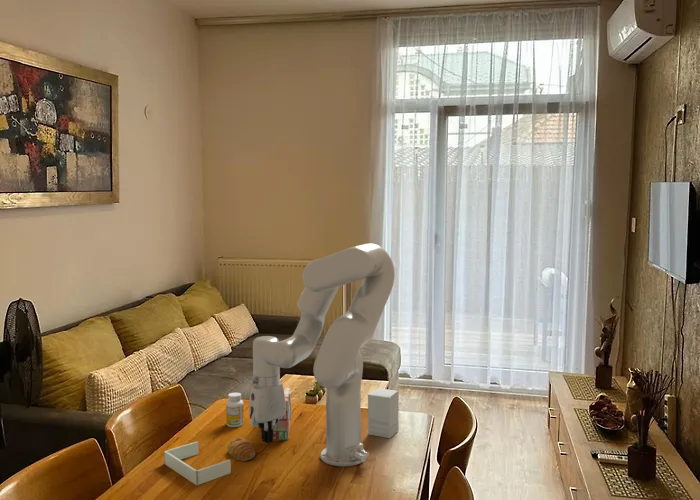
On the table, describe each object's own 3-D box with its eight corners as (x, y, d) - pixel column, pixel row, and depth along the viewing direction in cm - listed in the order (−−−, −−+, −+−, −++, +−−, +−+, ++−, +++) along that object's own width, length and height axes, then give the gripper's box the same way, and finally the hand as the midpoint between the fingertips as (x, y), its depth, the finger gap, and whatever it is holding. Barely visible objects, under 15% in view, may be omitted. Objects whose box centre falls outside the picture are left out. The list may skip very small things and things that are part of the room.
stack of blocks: (272, 415, 207) (272, 378, 206) (291, 415, 207) (291, 378, 206) (267, 441, 186) (266, 400, 185) (288, 440, 186) (287, 400, 185)
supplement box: (399, 430, 193) (399, 390, 192) (389, 439, 187) (389, 397, 186) (377, 426, 197) (377, 387, 196) (367, 434, 190) (367, 393, 189)
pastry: (261, 458, 174) (261, 445, 173) (238, 464, 170) (238, 451, 170) (247, 447, 181) (246, 434, 181) (225, 453, 178) (224, 440, 177)
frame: (230, 473, 164) (230, 460, 164) (196, 485, 157) (196, 471, 157) (197, 453, 177) (197, 441, 176) (164, 463, 170) (163, 451, 170)
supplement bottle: (235, 420, 203) (234, 390, 202) (247, 423, 200) (246, 393, 199) (222, 425, 198) (222, 395, 198) (234, 428, 195) (234, 398, 194)
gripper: (252, 388, 172) (253, 453, 174) (295, 377, 183) (295, 438, 184) (237, 382, 178) (238, 445, 180) (279, 372, 188) (280, 431, 190)
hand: (267, 441), depth 182 cm, fingers closed
